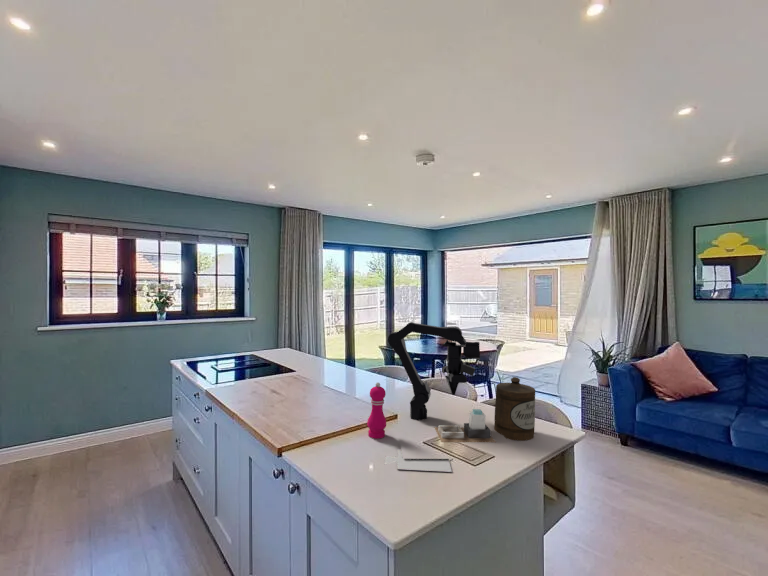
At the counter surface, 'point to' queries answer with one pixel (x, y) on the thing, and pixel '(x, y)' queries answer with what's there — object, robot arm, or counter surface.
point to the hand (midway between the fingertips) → (453, 394)
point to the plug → (477, 419)
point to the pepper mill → (377, 413)
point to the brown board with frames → (463, 434)
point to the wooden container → (515, 410)
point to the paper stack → (419, 463)
